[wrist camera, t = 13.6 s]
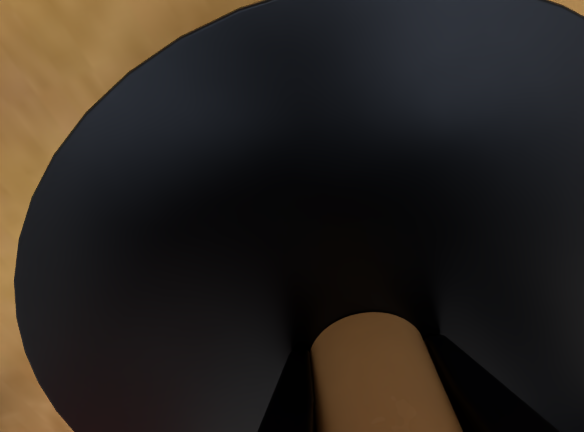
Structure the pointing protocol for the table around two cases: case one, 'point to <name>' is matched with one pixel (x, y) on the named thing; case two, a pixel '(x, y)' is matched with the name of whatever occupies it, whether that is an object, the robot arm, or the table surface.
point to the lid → (317, 220)
